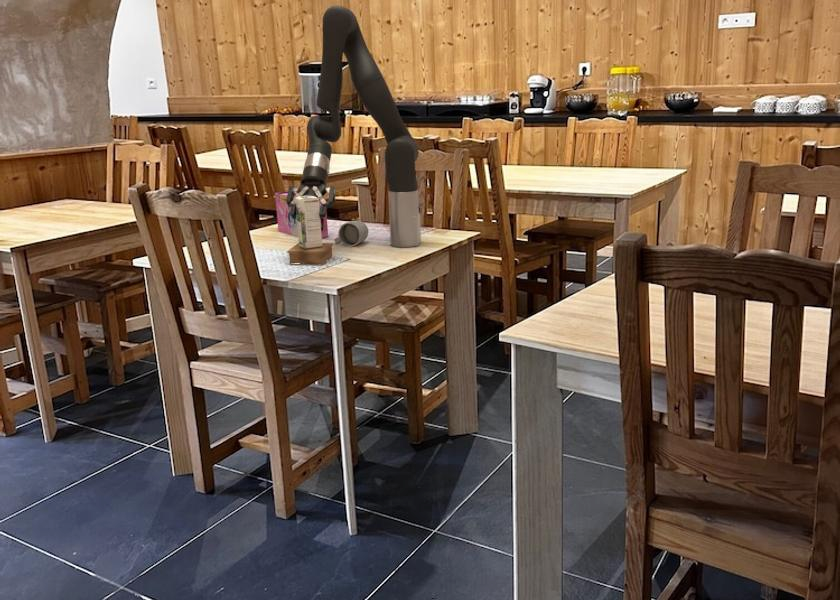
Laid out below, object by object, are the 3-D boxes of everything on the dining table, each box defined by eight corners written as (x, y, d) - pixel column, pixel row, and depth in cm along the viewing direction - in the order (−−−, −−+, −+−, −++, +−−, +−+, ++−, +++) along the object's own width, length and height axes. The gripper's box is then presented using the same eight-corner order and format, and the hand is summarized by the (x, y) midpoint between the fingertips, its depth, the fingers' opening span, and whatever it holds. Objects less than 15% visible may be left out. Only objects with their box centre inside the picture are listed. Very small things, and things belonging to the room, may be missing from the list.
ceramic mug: (370, 241, 253) (369, 218, 251) (360, 247, 246) (359, 223, 244) (340, 241, 257) (338, 217, 255) (330, 246, 249) (328, 222, 247)
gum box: (331, 238, 261) (328, 197, 257) (310, 241, 257) (307, 200, 253) (297, 228, 280) (294, 190, 276) (277, 231, 275) (274, 192, 271)
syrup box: (298, 245, 231) (293, 196, 227) (317, 243, 233) (313, 194, 229) (304, 249, 226) (299, 199, 222) (323, 246, 228) (319, 197, 224)
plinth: (334, 256, 235) (333, 243, 234) (324, 264, 225) (323, 251, 224) (299, 255, 237) (298, 242, 236) (288, 264, 227) (287, 251, 225)
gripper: (289, 164, 231) (279, 210, 224) (336, 164, 229) (327, 210, 221) (296, 179, 238) (287, 224, 230) (341, 179, 236) (334, 224, 228)
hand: (307, 217), depth 226 cm, fingers open, 8 cm apart
